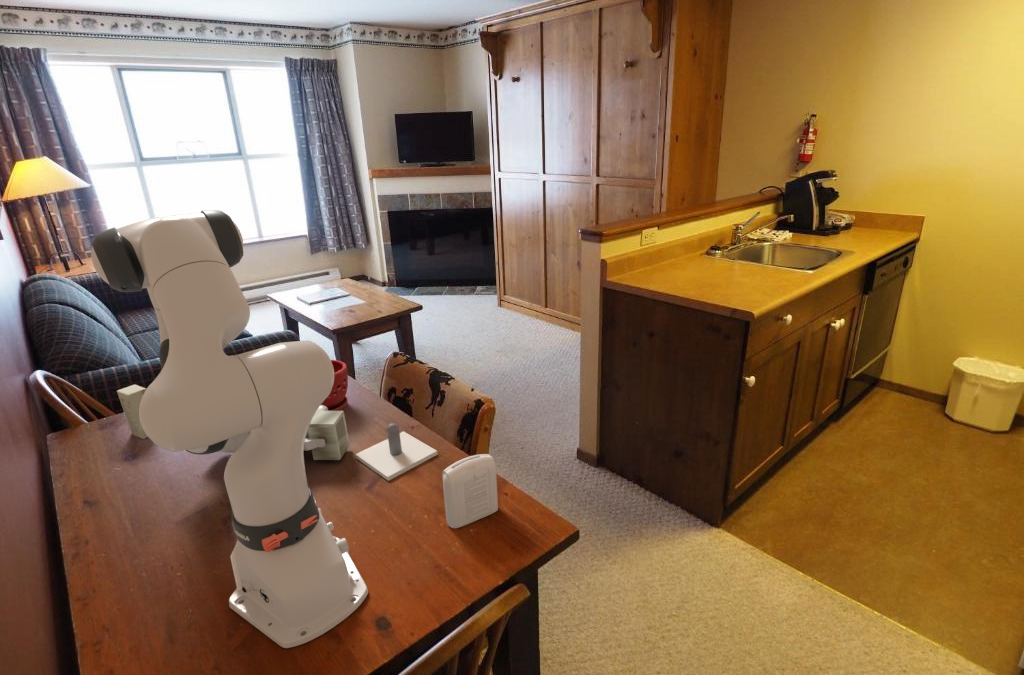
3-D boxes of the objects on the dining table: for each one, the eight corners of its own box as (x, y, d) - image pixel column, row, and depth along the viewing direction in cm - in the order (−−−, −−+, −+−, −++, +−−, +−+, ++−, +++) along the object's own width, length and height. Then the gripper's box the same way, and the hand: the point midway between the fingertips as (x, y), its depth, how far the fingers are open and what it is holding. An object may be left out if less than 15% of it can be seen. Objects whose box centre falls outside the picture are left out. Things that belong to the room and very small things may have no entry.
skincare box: (161, 432, 136) (147, 388, 132) (142, 440, 133) (128, 395, 129) (148, 426, 140) (135, 383, 135) (130, 433, 136) (115, 390, 132)
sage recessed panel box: (313, 459, 120) (306, 424, 116) (324, 445, 125) (317, 410, 122) (339, 460, 119) (333, 424, 116) (349, 445, 125) (343, 410, 122)
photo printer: (490, 499, 106) (486, 444, 101) (502, 511, 102) (498, 455, 98) (442, 520, 101) (436, 463, 96) (453, 533, 97) (447, 475, 93)
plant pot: (339, 421, 138) (331, 378, 133) (291, 419, 140) (282, 377, 136) (360, 398, 150) (354, 358, 145) (316, 396, 152) (309, 357, 148)
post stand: (437, 454, 121) (434, 422, 118) (388, 480, 113) (383, 446, 110) (403, 434, 130) (399, 404, 127) (355, 458, 121) (350, 425, 119)
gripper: (244, 445, 111) (309, 445, 110) (290, 399, 130) (346, 399, 129) (251, 471, 113) (315, 472, 112) (295, 423, 132) (350, 423, 131)
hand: (332, 433), depth 120 cm, fingers closed on sage recessed panel box, 6 cm apart
